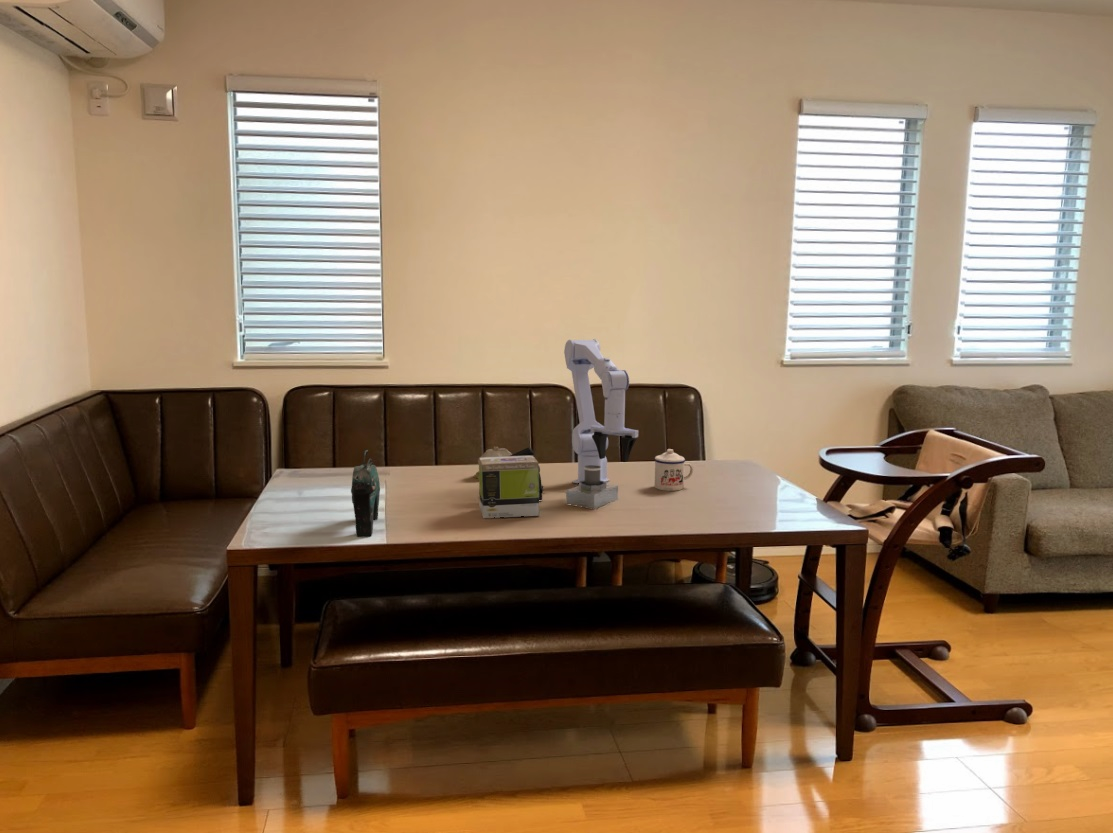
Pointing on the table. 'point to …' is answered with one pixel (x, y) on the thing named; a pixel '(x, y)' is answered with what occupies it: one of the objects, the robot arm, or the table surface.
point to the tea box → (509, 486)
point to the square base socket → (592, 495)
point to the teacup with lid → (670, 471)
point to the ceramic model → (494, 455)
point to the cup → (592, 475)
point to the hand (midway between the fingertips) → (613, 459)
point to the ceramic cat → (365, 497)
